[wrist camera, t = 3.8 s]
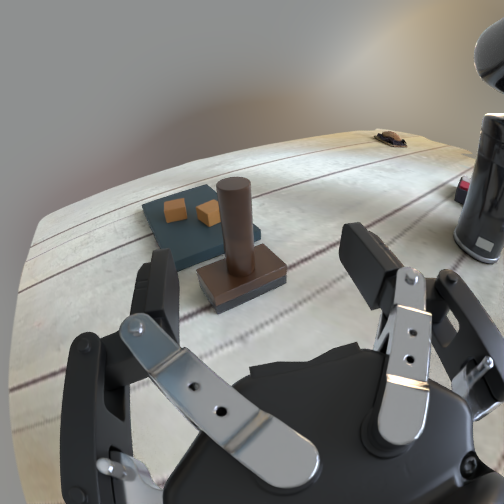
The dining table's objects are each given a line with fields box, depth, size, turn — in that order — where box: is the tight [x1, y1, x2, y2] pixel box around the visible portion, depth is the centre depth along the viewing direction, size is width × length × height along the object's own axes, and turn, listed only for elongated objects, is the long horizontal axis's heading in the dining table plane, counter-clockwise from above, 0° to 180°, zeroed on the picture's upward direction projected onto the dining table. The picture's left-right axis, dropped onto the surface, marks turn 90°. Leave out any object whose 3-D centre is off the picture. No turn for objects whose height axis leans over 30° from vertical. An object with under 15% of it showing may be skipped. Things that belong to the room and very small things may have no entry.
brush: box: [196, 177, 287, 314], centre depth 25 cm, size 8×4×12 cm, turn 120°
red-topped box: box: [455, 176, 471, 204], centre depth 41 cm, size 11×4×15 cm
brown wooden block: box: [196, 199, 221, 227], centre depth 36 cm, size 3×3×2 cm
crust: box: [164, 198, 187, 223], centre depth 38 cm, size 3×3×2 cm
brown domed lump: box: [374, 131, 407, 147], centre depth 75 cm, size 11×8×4 cm
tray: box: [142, 184, 261, 271], centre depth 39 cm, size 12×18×2 cm, turn 30°
